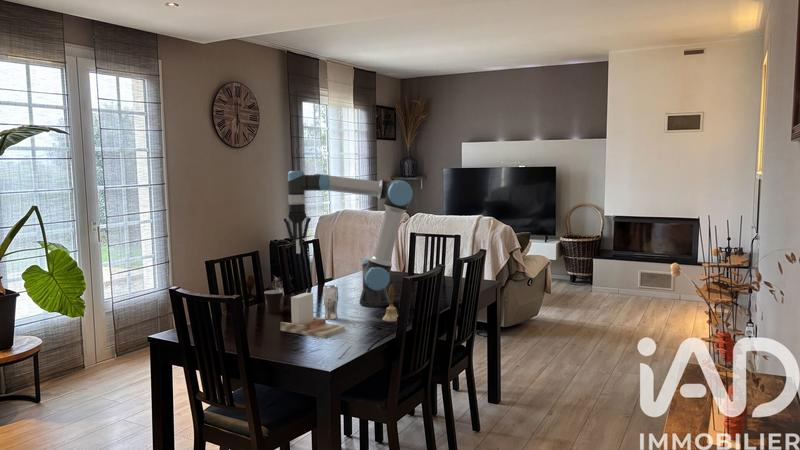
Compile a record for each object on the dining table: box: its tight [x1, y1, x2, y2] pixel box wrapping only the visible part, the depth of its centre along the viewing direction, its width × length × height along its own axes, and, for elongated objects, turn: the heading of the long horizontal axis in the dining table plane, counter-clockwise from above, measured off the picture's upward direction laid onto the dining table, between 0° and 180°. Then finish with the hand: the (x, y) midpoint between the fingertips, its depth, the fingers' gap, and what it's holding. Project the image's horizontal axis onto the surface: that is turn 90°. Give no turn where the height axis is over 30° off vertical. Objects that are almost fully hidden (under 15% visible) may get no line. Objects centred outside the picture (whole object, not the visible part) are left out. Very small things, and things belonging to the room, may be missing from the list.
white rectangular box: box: [290, 292, 315, 325], centre depth 260 cm, size 5×10×13 cm, turn 150°
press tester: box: [279, 316, 346, 339], centre depth 258 cm, size 24×14×4 cm, turn 60°
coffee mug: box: [264, 289, 283, 315], centre depth 291 cm, size 12×9×10 cm
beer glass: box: [322, 284, 339, 321], centre depth 276 cm, size 7×7×15 cm
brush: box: [381, 284, 399, 323], centre depth 273 cm, size 8×8×16 cm
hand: (298, 253), depth 283 cm, fingers closed
